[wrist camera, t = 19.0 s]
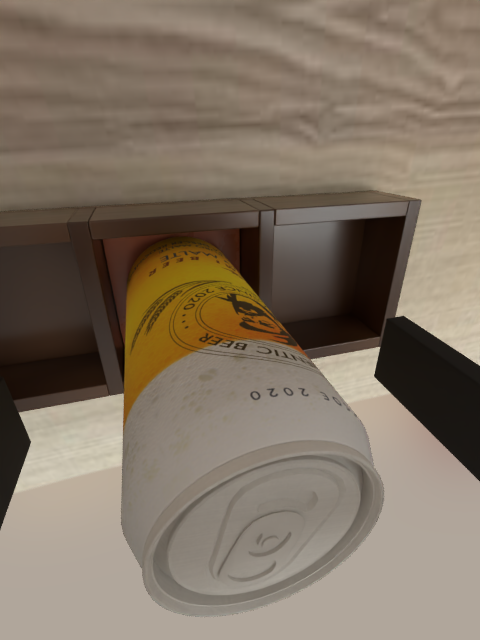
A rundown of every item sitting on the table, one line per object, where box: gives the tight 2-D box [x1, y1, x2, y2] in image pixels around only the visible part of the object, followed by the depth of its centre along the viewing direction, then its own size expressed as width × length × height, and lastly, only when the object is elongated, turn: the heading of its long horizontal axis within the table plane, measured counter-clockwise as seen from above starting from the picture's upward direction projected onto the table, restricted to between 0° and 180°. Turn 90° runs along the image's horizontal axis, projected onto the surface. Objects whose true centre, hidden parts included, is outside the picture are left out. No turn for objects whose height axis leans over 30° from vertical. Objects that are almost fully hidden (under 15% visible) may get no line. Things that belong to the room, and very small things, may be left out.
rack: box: [0, 191, 421, 412], centre depth 19 cm, size 26×9×4 cm, turn 92°
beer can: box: [121, 237, 384, 617], centre depth 13 cm, size 6×6×15 cm
